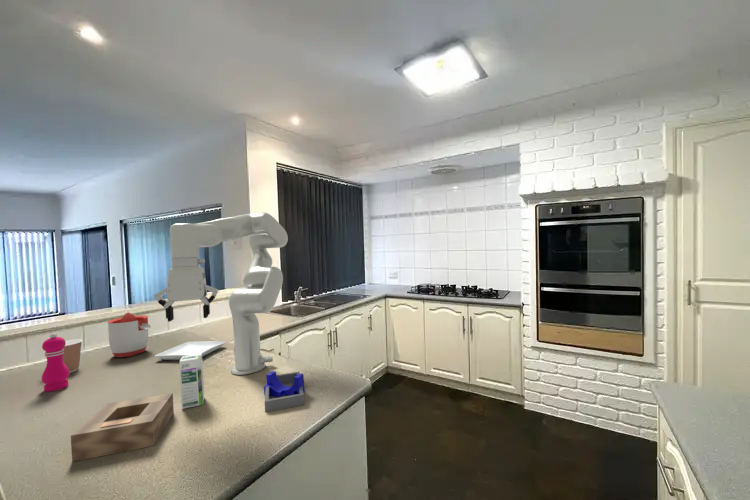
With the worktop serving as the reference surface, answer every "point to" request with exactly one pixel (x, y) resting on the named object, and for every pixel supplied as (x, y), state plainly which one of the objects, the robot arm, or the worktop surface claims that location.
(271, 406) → the clip frame
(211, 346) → the salad plate
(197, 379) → the syrup box
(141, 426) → the socket block
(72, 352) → the coffee cup
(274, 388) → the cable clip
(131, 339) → the citrus juicer
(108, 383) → the worktop surface
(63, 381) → the pepper mill
